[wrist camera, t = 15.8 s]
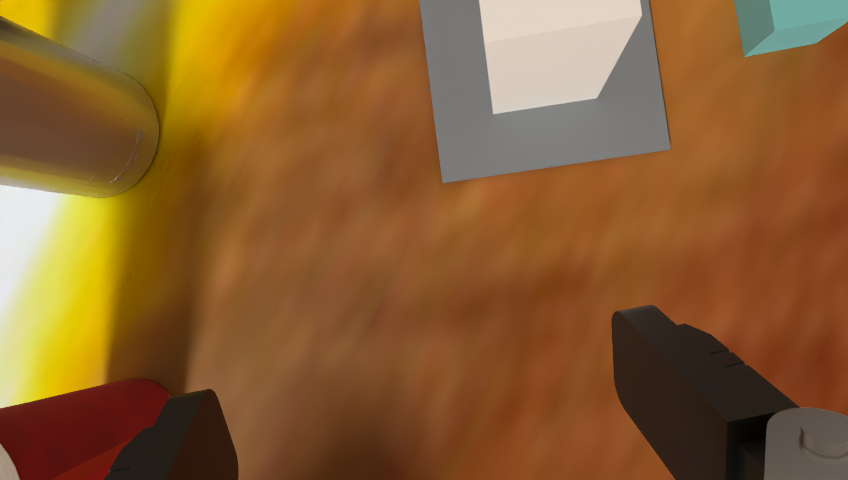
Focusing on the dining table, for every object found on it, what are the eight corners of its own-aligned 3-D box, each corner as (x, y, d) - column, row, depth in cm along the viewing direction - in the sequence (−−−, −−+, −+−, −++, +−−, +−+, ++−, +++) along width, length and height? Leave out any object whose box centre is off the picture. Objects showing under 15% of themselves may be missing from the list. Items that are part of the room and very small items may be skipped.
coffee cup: (79, 371, 40) (-176, 440, 25) (184, 352, 39) (-20, 413, 24) (98, 489, 39) (-152, 630, 24) (204, 473, 38) (8, 612, 23)
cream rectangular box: (596, 98, 34) (642, 15, 22) (493, 114, 35) (484, 42, 23) (583, -3, 35) (621, -137, 23) (481, 15, 36) (466, -104, 24)
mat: (443, 183, 36) (442, 182, 36) (416, -26, 37) (415, -29, 36) (668, 149, 34) (670, 148, 34) (636, -72, 35) (637, -75, 34)
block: (815, 43, 33) (856, 15, 29) (743, 57, 34) (774, 30, 30) (803, -22, 33) (843, -59, 29) (732, -7, 34) (761, -42, 30)
